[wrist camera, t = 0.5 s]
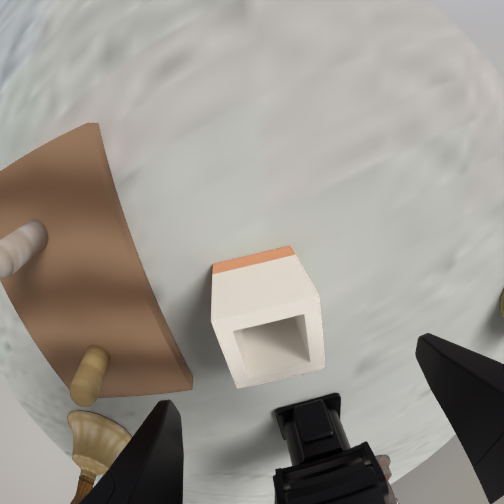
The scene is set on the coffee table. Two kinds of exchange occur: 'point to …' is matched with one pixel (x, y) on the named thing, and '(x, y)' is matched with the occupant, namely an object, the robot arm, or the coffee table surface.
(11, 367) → the coffee table surface
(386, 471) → the lantern
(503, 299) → the ceramic model
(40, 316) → the pin board
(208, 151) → the coffee table surface
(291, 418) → the robot arm
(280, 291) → the sleeve
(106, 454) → the hand bell
